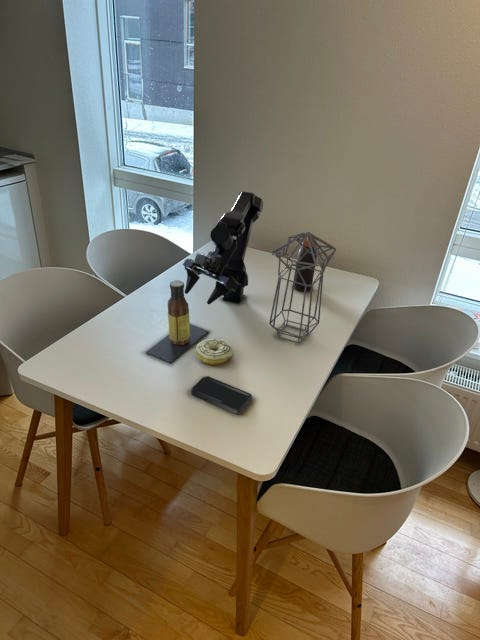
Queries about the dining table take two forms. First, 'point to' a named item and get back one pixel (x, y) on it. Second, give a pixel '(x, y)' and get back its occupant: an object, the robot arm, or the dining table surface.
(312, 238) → the geometric lantern
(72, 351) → the dining table surface
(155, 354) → the mat
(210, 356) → the decorated donut
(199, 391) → the phone
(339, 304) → the dining table surface
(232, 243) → the robot arm
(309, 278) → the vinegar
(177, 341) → the sauce bottle
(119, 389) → the dining table surface
